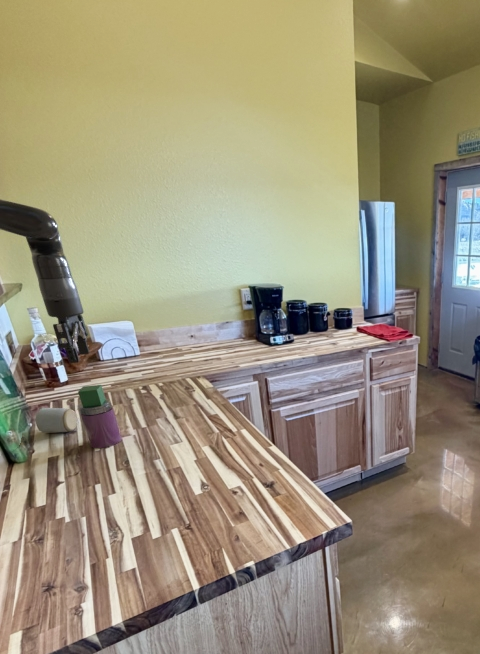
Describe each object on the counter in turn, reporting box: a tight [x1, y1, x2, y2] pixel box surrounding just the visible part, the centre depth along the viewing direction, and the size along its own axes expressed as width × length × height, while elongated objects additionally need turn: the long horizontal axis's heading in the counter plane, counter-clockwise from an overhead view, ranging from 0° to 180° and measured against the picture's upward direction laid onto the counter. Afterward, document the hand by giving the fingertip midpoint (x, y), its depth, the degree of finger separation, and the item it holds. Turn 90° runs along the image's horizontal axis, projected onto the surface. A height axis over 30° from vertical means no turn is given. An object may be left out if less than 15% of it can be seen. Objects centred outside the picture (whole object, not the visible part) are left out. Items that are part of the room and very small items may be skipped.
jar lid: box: [78, 398, 113, 415], centre depth 117 cm, size 8×8×2 cm
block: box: [77, 384, 107, 407], centre depth 116 cm, size 4×4×4 cm
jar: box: [79, 406, 123, 449], centre depth 119 cm, size 8×8×12 cm
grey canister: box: [35, 407, 80, 434], centre depth 128 cm, size 11×8×8 cm
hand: (80, 358), depth 112 cm, fingers open, 8 cm apart
